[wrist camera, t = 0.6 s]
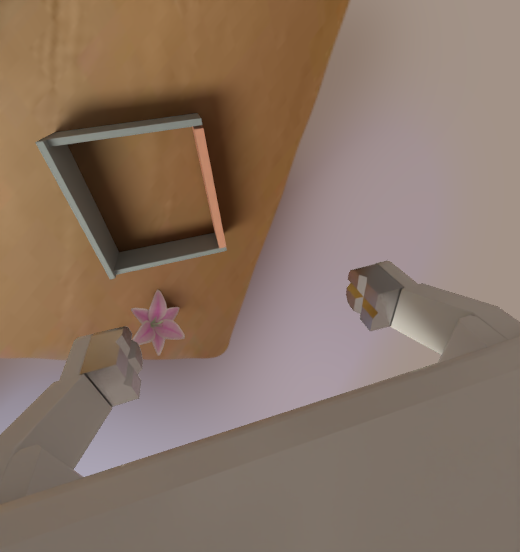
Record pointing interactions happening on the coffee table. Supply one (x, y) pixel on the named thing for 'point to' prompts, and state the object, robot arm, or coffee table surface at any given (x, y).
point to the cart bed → (87, 209)
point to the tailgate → (209, 183)
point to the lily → (157, 323)
